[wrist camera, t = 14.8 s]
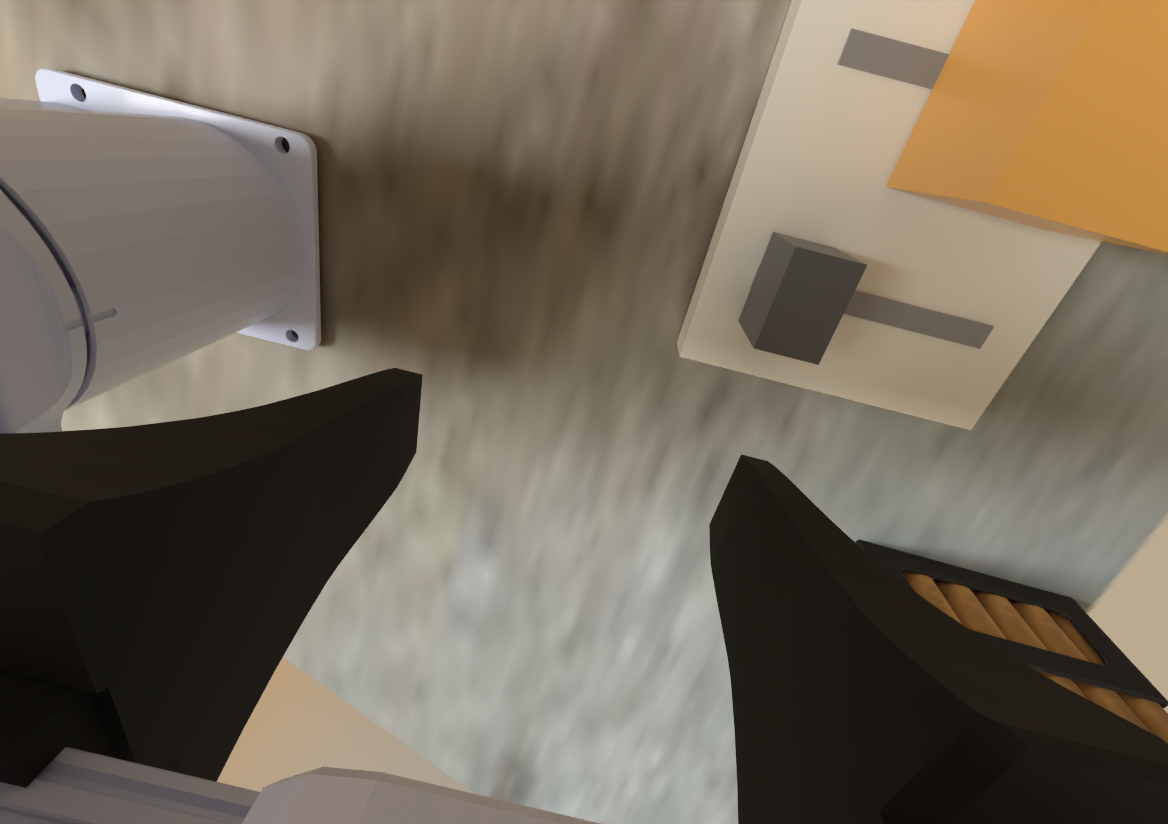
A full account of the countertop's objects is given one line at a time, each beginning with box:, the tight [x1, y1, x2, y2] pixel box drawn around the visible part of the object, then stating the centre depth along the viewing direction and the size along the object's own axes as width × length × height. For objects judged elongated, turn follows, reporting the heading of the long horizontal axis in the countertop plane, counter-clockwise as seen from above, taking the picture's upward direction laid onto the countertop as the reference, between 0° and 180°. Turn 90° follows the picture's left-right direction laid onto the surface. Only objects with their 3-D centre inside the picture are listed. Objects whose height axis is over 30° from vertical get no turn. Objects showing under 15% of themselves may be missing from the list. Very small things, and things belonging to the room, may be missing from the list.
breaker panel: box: [677, 0, 1102, 430], centre depth 16 cm, size 11×13×2 cm
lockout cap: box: [886, 0, 1168, 255], centre depth 12 cm, size 5×6×5 cm
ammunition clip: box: [855, 540, 1168, 744], centre depth 18 cm, size 11×2×12 cm, turn 76°
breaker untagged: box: [738, 232, 867, 365], centre depth 16 cm, size 2×3×3 cm, turn 167°
